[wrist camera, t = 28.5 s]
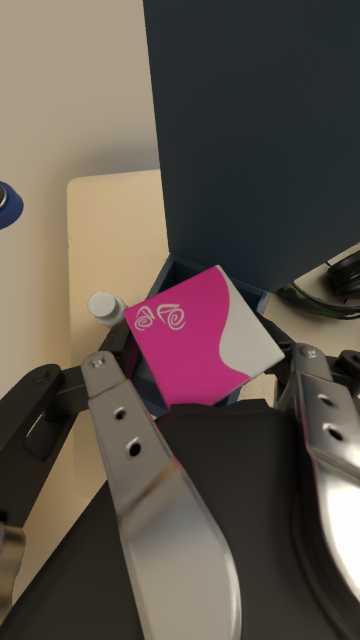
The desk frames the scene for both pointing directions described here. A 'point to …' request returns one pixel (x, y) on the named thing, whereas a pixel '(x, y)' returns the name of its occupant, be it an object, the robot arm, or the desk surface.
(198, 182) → the lid
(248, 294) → the dark blue open box
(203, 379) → the supplement box
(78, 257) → the desk surface
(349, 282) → the headphones
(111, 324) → the pill bottle
